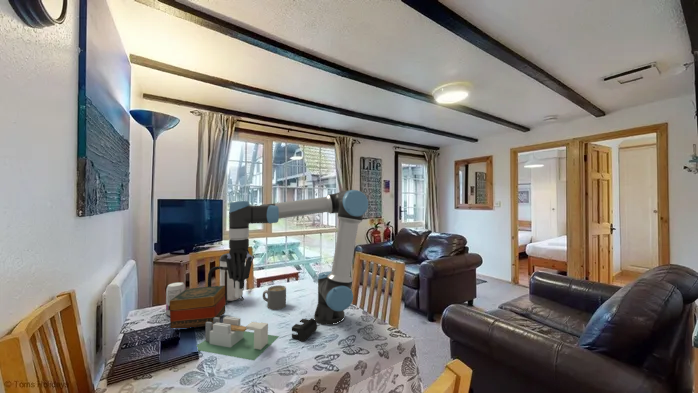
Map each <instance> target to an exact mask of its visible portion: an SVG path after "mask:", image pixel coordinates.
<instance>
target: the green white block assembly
mask: <svg viewBox="0 0 698 393" xmlns="http://www.w3.org/2000/svg"><path fill="white" fill-rule="evenodd" d="M222 320H223V322H221V317H220V318H218V317H215V318H213V323H214V322H216V323H215V324H213V327H212V322H206V326H205V339H204V340H203V341H201V342H200V343H198V344H197V345H196V346H197V347H198V351H199V352H198V353H200V352H206V353H211V354H216V355H223V356H227V357H232V358H239V359H244V360H249V361H255V360H256V359H257V358H259V357H260V356H261V355H262V354H263V353H264V352H265V351H266V350H267V349H269V347H270V346H271V345H272V344H273V343H274V342H275V341H277V340H278V338H279V337H280V335H279V336H278V335H273V334H268V343H267V344H266V345H265V346H264V347H263V348H262V349H261V350H259V349H254V331H247V330H245V331H236V330H231V325H237V326H243V325H241V318H240V317H233V316H225V317H223V319H222Z"/></svg>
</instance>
